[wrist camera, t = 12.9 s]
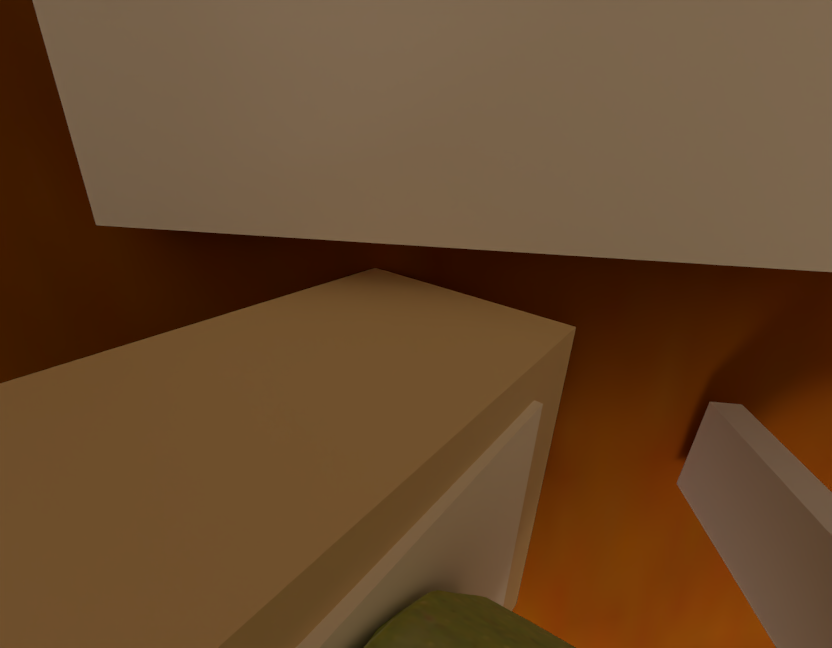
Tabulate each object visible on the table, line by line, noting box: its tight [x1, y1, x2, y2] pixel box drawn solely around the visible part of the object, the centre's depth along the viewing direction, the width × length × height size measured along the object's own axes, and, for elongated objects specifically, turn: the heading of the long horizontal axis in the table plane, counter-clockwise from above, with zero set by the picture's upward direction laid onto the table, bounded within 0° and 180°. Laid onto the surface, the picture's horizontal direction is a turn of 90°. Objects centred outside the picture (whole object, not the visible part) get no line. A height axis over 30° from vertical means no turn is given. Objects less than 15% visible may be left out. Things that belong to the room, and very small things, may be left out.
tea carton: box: [0, 268, 576, 648], centre depth 8 cm, size 5×8×8 cm
